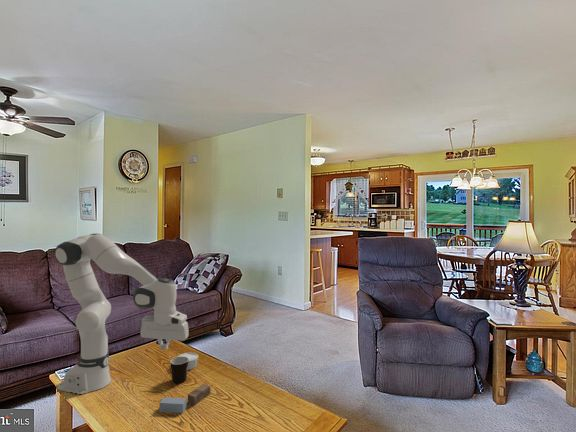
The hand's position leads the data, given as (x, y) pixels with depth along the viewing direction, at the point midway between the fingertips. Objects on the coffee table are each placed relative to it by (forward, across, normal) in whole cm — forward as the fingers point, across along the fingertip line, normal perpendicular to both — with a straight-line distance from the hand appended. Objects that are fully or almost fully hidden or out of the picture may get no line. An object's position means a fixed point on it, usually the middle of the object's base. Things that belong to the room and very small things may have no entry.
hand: (164, 348), depth 139 cm
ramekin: (+24, -3, +34) cm, 42 cm away
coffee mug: (+24, -1, +21) cm, 32 cm away
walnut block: (+22, +12, +2) cm, 25 cm away
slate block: (+22, +1, -3) cm, 23 cm away
